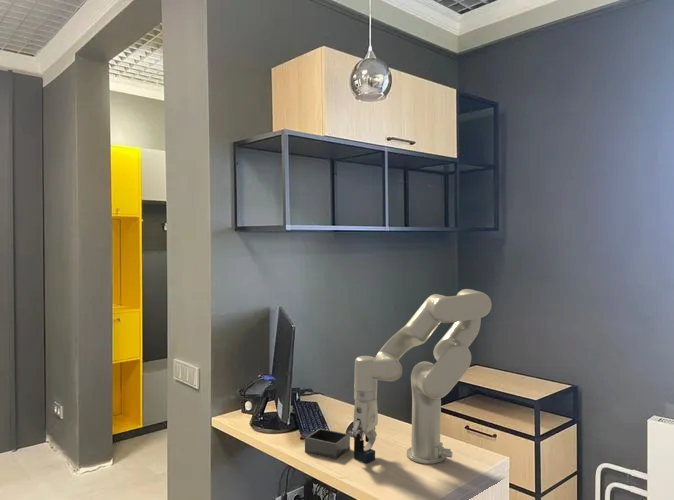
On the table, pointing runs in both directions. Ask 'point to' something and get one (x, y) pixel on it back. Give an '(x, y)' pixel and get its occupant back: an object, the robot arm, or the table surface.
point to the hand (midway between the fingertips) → (364, 446)
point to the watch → (367, 448)
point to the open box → (327, 443)
